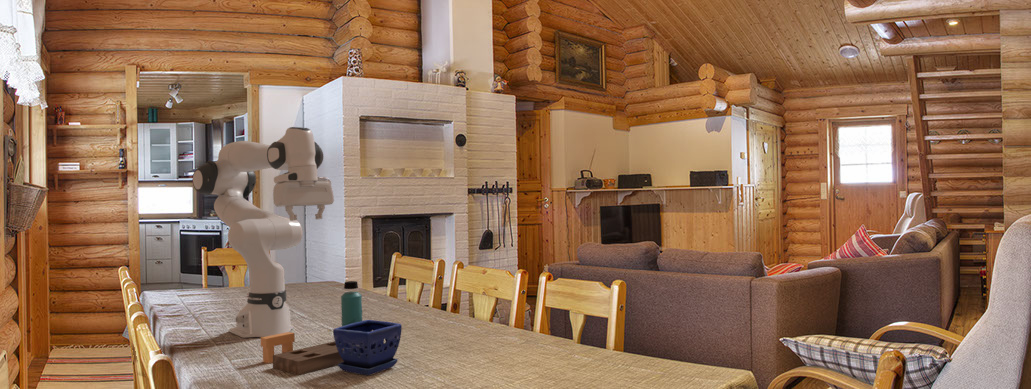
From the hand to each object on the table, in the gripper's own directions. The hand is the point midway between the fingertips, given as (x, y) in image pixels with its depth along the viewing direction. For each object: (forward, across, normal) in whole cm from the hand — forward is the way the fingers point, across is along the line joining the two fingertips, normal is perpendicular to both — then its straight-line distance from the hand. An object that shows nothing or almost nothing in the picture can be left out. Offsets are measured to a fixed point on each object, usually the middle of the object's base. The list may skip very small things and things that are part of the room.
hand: (306, 219), depth 217 cm
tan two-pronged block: (+40, +19, +9) cm, 45 cm away
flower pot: (+43, +11, +39) cm, 59 cm away
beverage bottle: (+40, -4, +13) cm, 43 cm away
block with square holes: (+41, +13, +22) cm, 48 cm away
